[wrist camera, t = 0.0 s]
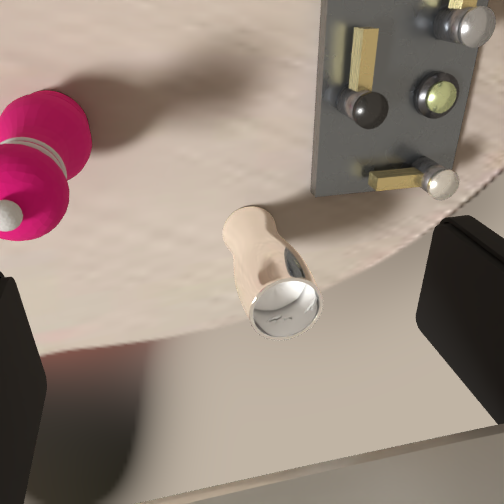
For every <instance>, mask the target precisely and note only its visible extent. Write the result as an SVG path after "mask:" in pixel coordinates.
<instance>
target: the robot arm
mask: <svg viewBox="0 0 504 504" xmlns="http://www.w3.org/2000/svg"><path fill="white" fill-rule="evenodd" d="M416 322H417V325H418V328H419V329H420V331H421V332H422V333H423V334H424V336H425V337H426V338H427V339H428V340H429V341H430V343H431V344H432V345H433V346H434V348H435V349H436V350H437V351H438V352H439V354H440V355H441V356H442V357H443V358H444V359H445V361H446V362H447V363H448V365H449V366H450V367H451V368H452V369H453V371H454V372H455V373H456V374H457V375H458V377H459V378H460V379H461V380H462V381H463V383H464V384H465V385H466V386H467V387H468V389H469V390H470V391H471V392H472V393H473V395H474V396H475V397H476V398H477V400H478V401H479V402H480V403H481V404H482V406H483V407H484V408H485V409H486V410H487V411H488V413H489V414H490V415H491V416H492V418H493V419H494V420H495V421H496V423H497V424H498V425H495V426H490V427H485V428H480V429H475V430H471V431H466V432H461V433H456V434H452V435H447V436H442V437H438V438H433V439H428V440H424V441H419V442H414V443H409V444H405V445H401V446H395V447H391V448H387V449H382V450H377V451H372V452H367V453H363V454H359V455H354V456H349V457H344V458H340V459H336V460H331V461H326V462H321V463H317V464H312V465H307V466H303V467H298V468H294V469H289V470H284V471H280V472H275V473H272V474H266V475H262V476H258V477H253V478H248V479H244V480H239V481H235V482H230V483H226V484H222V485H217V486H212V487H208V488H203V489H199V490H194V491H190V492H185V493H181V494H176V495H172V496H167V497H163V498H158V499H154V500H149V501H145V502H140V503H136V504H504V238H502V237H501V236H499V235H498V234H497V233H495V232H494V231H492V230H491V229H489V228H488V227H486V226H485V225H483V224H482V223H481V222H479V221H478V220H476V219H475V218H473V217H472V216H469V215H465V216H456V217H448V218H444V219H443V220H442V221H441V222H440V224H439V225H437V226H436V227H435V229H434V232H433V236H432V241H431V246H430V250H429V255H428V260H427V264H426V270H425V274H424V279H423V284H422V288H421V293H420V298H419V302H418V307H417V312H416ZM46 390H47V383H46V375H45V372H44V369H43V366H42V363H41V359H40V356H39V353H38V350H37V347H36V344H35V341H34V338H33V335H32V332H31V328H30V325H29V322H28V319H27V316H26V313H25V310H24V307H23V304H22V301H21V298H20V294H19V291H18V288H17V285H16V282H15V280H14V279H13V278H12V277H4V275H3V274H2V272H0V504H24V499H25V494H26V489H27V484H28V479H29V474H30V469H31V464H32V459H33V454H34V450H35V445H36V440H37V435H38V430H39V425H40V420H41V415H42V411H43V406H44V401H45V396H46Z"/></svg>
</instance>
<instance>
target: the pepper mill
mask: <svg viewBox="0 0 504 504" xmlns="http://www.w3.org/2000/svg"><path fill="white" fill-rule="evenodd" d="M91 148H92V138H91V133H90V129H89V124H88V120H87V117H86V115H85V113H84V111H83V110H82V108H81V107H80V106H79V105H78V104H77V103H76V102H75V101H74V100H73V99H71V98H70V97H68V96H66V95H65V94H62V93H59V92H56V91H49V90H44V91H38V92H34V93H32V94H30V95H26V96H23V97H20V98H18V99H16V100H14V101H13V102H12V103H10V104H9V105H8V106H7V107H6V108H5V110H4V111H3V113H2V114H1V116H0V238H1V239H5V240H11V241H24V240H32V239H35V238H39V237H41V236H43V235H45V234H47V233H49V232H50V231H51V230H52V229H54V228H55V227H56V226H57V225H58V224H59V222H60V221H61V219H62V218H63V216H64V214H65V213H66V210H67V207H68V204H69V187H68V183H67V180H69V179H71V178H73V177H74V176H76V175H77V174H78V173H79V172H80V171H81V170H82V169H83V167H84V166H85V164H86V162H87V161H88V158H89V156H90V153H91Z"/></svg>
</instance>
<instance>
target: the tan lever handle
mask: <svg viewBox="0 0 504 504" xmlns="http://www.w3.org/2000/svg"><path fill="white" fill-rule="evenodd" d="M378 32H379V29H378V28H373V27H354V34H353V45H352V56H351V67H350V78H349V85H347V86H346V87H344V88H343V89H342V90H341V91H340V93H339V95H338V97H337V107H338V110H339V111H340V112H341V113H342V114H343V115H345V116H346V117H348V118H350V119H351V120H353V121H354V122H355V123H356V124H357V125H359V126H360V127H362V128H364V129H374V128H376V127H378V126H379V125H381V124H382V123H383V122H384V120H385V119H386V117H387V114H388V110H389V105H388V101H387V99H386V98H385V97H384V96H383V95H382V94H380V93H377V92H374V91H372V84H373V75H374V67H375V58H376V49H377V41H378Z"/></svg>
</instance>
